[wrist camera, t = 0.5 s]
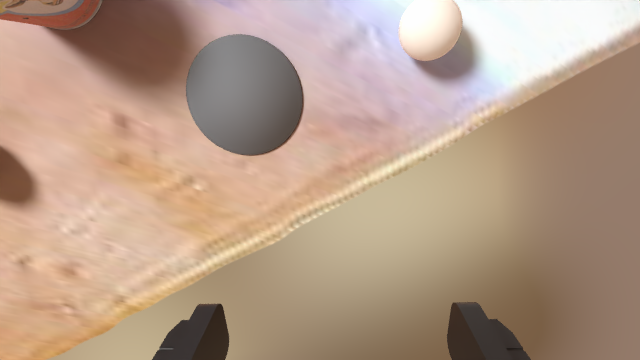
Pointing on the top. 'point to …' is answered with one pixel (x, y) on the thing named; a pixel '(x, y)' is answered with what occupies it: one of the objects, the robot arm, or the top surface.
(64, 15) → the canned food
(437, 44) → the ball
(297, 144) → the top surface
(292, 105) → the disc
